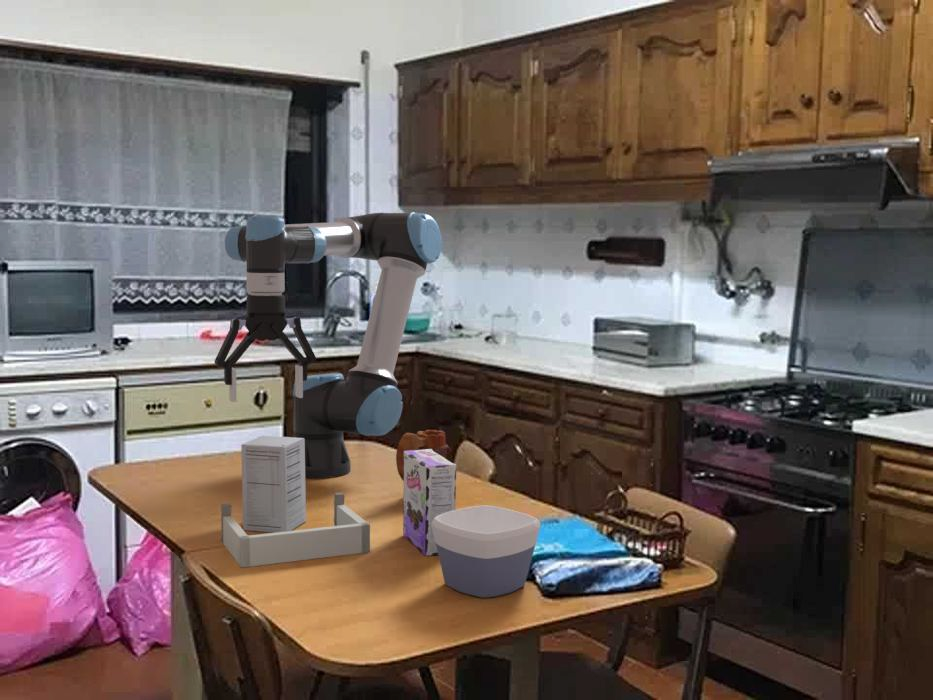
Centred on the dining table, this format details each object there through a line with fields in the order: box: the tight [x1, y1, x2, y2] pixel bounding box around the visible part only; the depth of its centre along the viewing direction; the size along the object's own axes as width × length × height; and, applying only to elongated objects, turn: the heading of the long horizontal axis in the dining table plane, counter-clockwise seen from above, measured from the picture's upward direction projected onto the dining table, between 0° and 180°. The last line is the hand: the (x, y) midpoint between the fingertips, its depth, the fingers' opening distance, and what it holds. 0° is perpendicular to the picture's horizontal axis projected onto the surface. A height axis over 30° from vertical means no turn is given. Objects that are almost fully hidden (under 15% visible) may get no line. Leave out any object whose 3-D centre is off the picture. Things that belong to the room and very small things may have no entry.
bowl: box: [431, 504, 541, 599], centre depth 169 cm, size 15×15×11 cm
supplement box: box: [240, 435, 307, 533], centre depth 201 cm, size 10×9×17 cm
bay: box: [220, 492, 371, 568], centre depth 188 cm, size 16×23×7 cm
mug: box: [395, 429, 452, 482], centre depth 222 cm, size 15×8×15 cm, turn 141°
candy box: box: [402, 449, 457, 557], centre depth 191 cm, size 14×6×16 cm, turn 21°
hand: (266, 399), depth 211 cm, fingers open, 13 cm apart
